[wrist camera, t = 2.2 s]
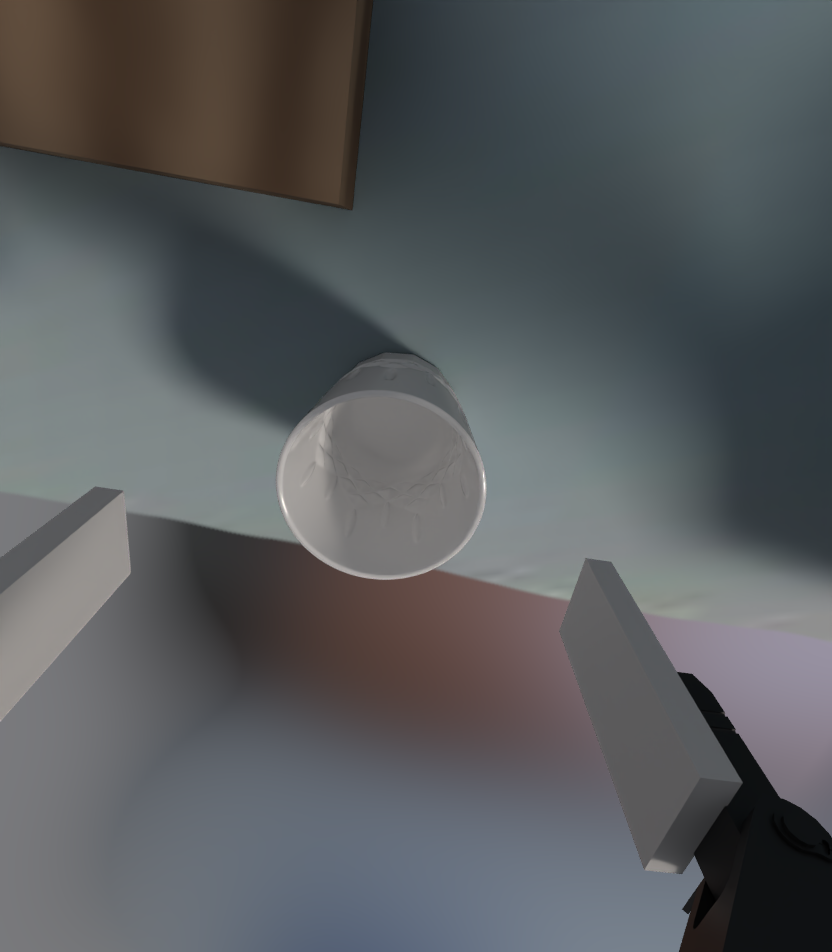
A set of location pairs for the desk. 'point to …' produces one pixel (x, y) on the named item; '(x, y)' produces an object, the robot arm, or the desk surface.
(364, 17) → the walnut base
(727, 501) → the desk surface
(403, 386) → the white cup
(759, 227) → the desk surface
